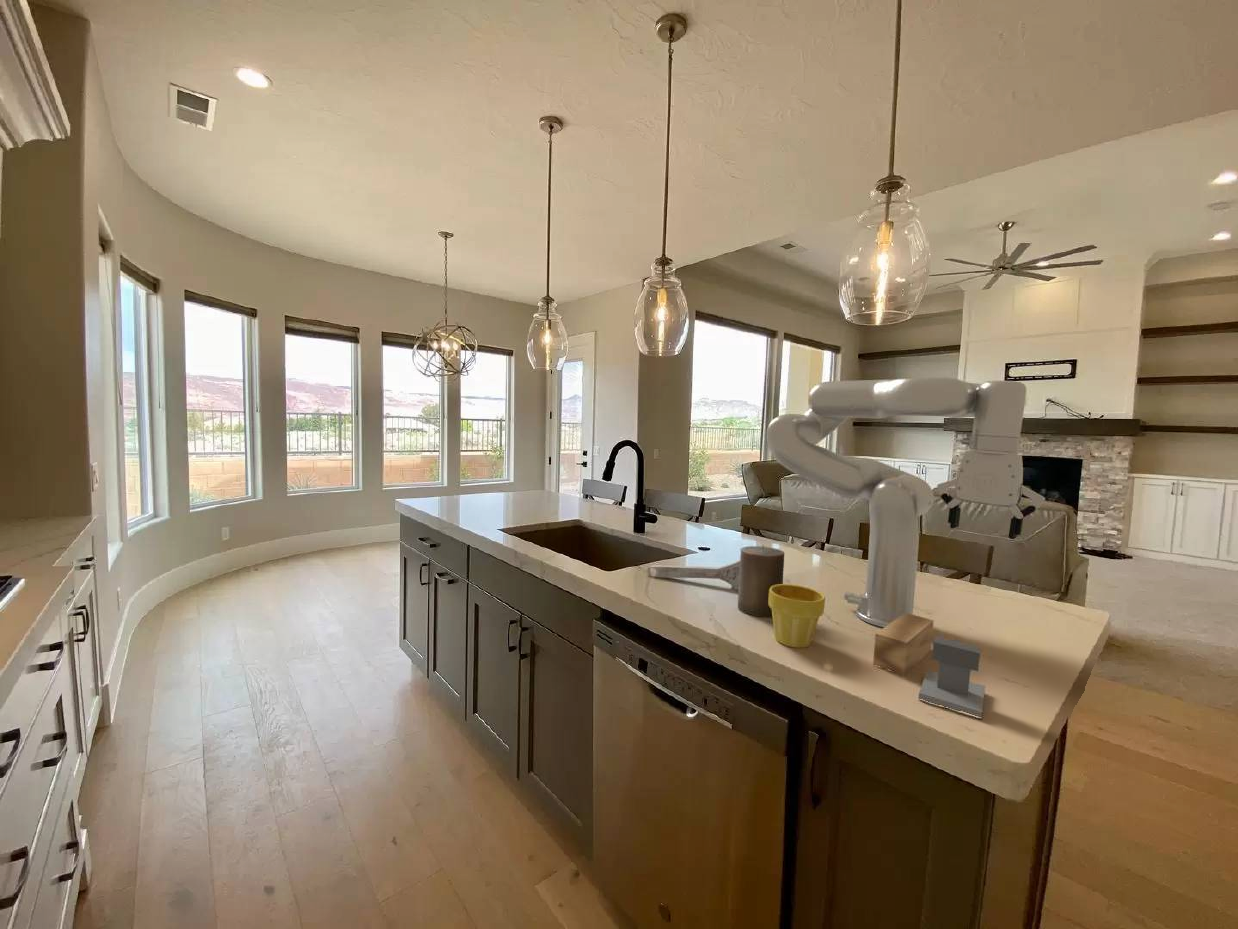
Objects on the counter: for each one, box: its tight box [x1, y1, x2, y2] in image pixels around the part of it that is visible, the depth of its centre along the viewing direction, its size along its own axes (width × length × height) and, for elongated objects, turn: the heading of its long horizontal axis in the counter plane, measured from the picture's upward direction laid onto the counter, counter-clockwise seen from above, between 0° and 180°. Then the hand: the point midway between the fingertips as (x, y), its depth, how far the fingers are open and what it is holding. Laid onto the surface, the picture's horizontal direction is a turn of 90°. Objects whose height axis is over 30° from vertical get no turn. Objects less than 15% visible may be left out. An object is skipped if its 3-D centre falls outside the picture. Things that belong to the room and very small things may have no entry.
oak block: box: [872, 613, 934, 676], centre depth 95 cm, size 5×16×6 cm, turn 134°
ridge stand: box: [918, 635, 986, 719], centre depth 81 cm, size 8×10×8 cm
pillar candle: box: [737, 544, 785, 618], centre depth 116 cm, size 10×10×15 cm
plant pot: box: [768, 583, 826, 648], centre depth 100 cm, size 10×10×10 cm
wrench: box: [646, 559, 740, 591], centre depth 135 cm, size 8×2×30 cm
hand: (982, 532), depth 101 cm, fingers open, 9 cm apart
